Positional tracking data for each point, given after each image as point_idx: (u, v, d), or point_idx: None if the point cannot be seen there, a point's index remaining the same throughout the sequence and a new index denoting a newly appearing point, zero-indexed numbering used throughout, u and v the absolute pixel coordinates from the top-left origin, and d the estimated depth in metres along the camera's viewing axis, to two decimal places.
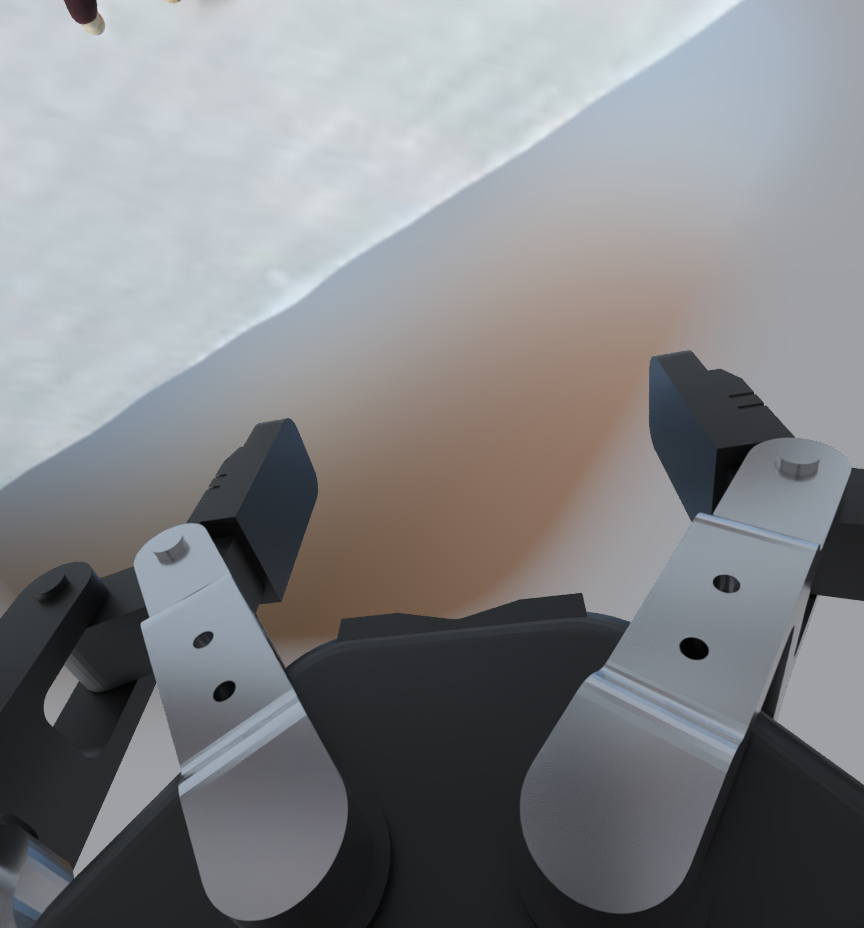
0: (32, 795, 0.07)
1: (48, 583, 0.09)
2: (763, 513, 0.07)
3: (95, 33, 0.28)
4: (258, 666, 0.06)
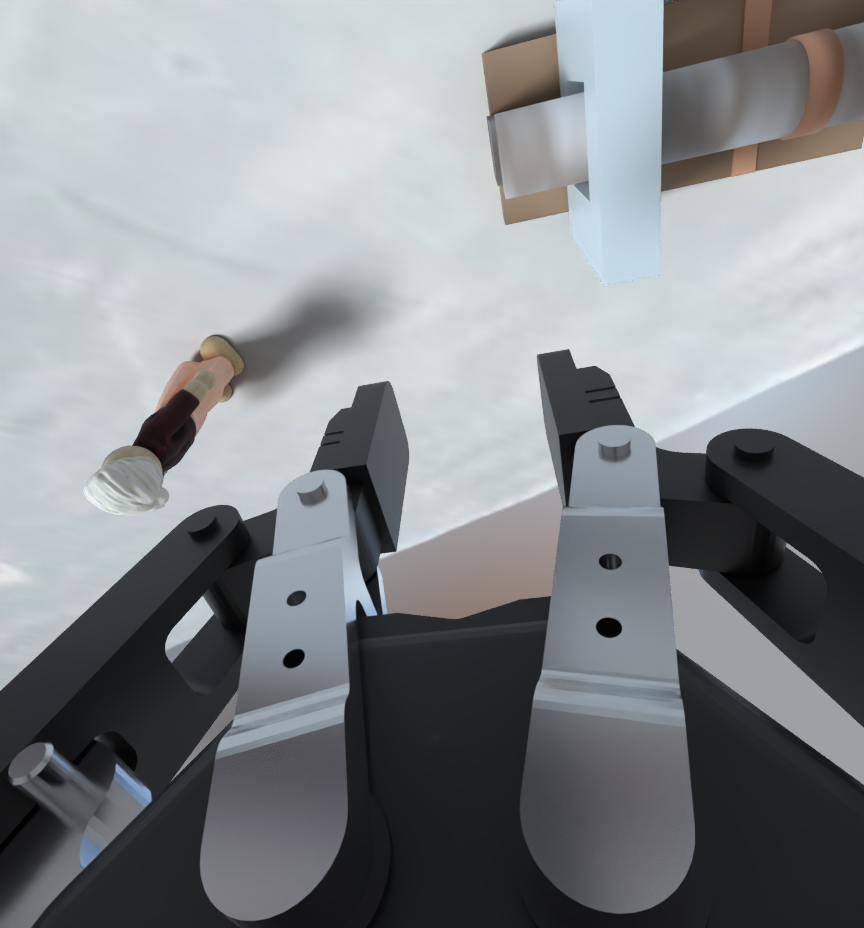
0: (139, 720, 0.08)
1: (200, 523, 0.09)
2: (606, 494, 0.08)
3: None
4: (329, 646, 0.06)
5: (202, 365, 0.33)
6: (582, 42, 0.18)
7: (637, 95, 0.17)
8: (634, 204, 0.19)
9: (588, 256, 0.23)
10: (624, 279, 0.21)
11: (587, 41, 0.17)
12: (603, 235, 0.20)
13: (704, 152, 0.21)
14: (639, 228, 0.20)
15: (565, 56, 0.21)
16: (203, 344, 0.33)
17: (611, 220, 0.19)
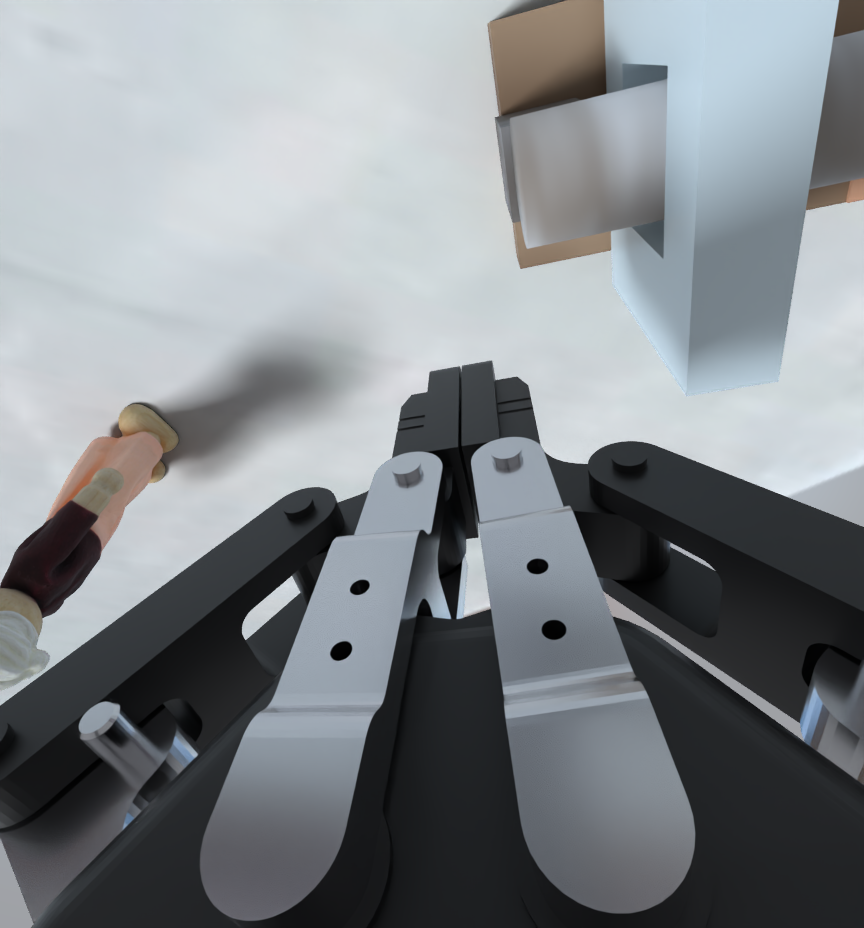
0: (208, 691, 0.08)
1: (297, 504, 0.09)
2: (512, 504, 0.08)
3: None
4: (377, 647, 0.06)
5: (119, 444, 0.25)
6: None
7: (779, 90, 0.10)
8: (750, 275, 0.11)
9: (651, 333, 0.15)
10: (720, 386, 0.13)
11: None
12: (693, 322, 0.12)
13: (847, 179, 0.13)
14: (754, 311, 0.12)
15: (622, 24, 0.14)
16: (121, 415, 0.25)
17: (708, 299, 0.12)
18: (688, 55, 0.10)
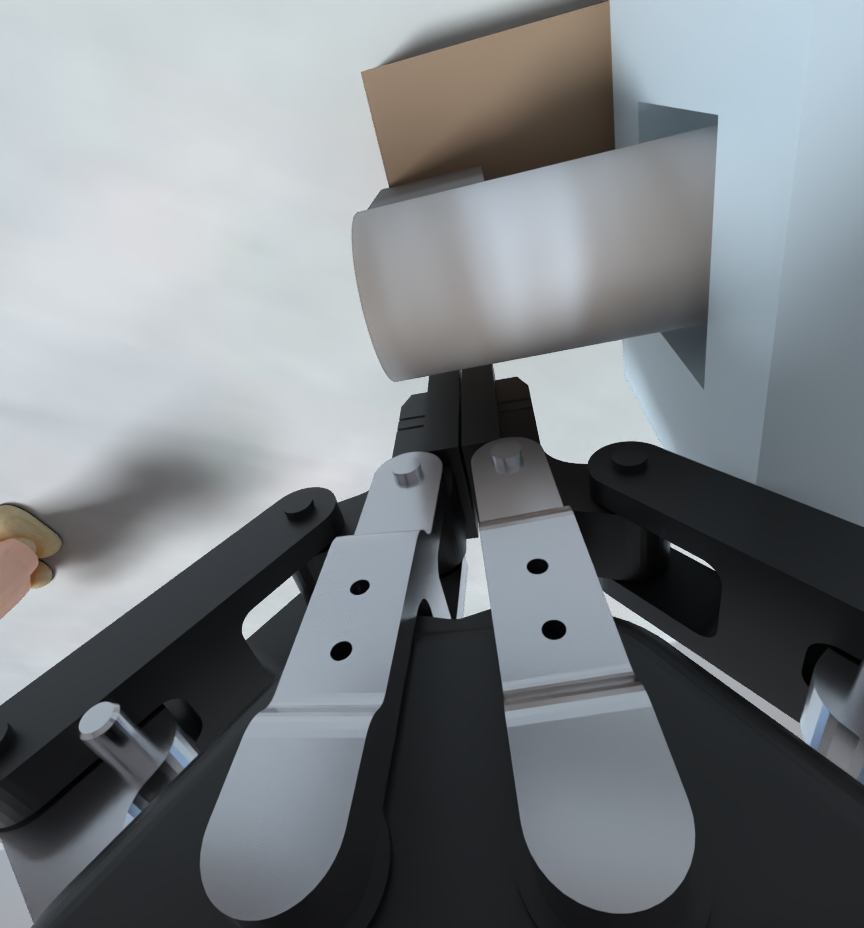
0: (208, 692, 0.08)
1: (297, 504, 0.09)
2: (512, 504, 0.08)
3: None
4: (377, 647, 0.06)
5: None
6: None
7: None
8: (856, 446, 0.07)
9: None
10: None
11: None
12: None
13: None
14: (856, 494, 0.07)
15: (638, 47, 0.09)
16: None
17: (784, 477, 0.07)
18: (763, 103, 0.06)
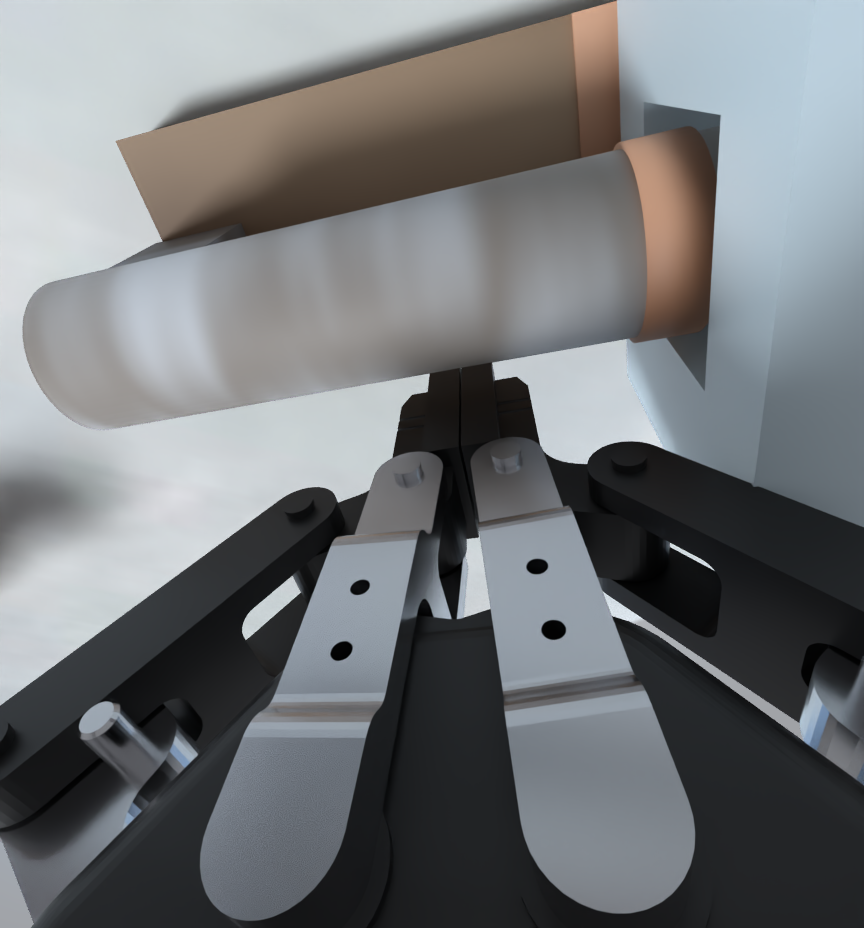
0: (209, 691, 0.08)
1: (298, 504, 0.09)
2: (512, 504, 0.08)
3: None
4: (377, 647, 0.06)
5: None
6: None
7: None
8: (855, 449, 0.07)
9: None
10: None
11: None
12: None
13: (462, 366, 0.10)
14: (855, 497, 0.07)
15: (644, 47, 0.09)
16: None
17: (783, 479, 0.07)
18: (764, 103, 0.06)
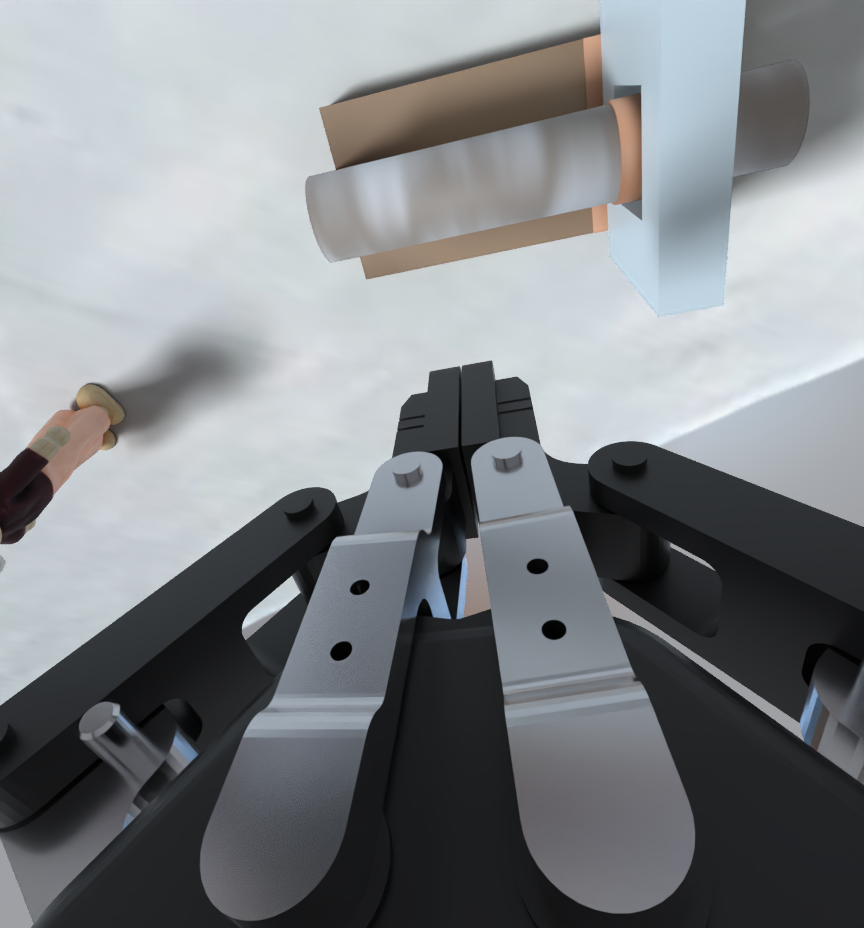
0: (208, 692, 0.08)
1: (297, 504, 0.09)
2: (512, 504, 0.08)
3: None
4: (377, 647, 0.06)
5: (75, 415, 0.32)
6: (642, 39, 0.16)
7: (709, 100, 0.15)
8: (698, 225, 0.17)
9: (635, 281, 0.20)
10: (682, 309, 0.18)
11: (650, 37, 0.15)
12: (660, 259, 0.17)
13: (528, 218, 0.20)
14: (703, 252, 0.17)
15: (613, 58, 0.19)
16: (78, 393, 0.32)
17: (671, 243, 0.17)
18: (652, 78, 0.15)
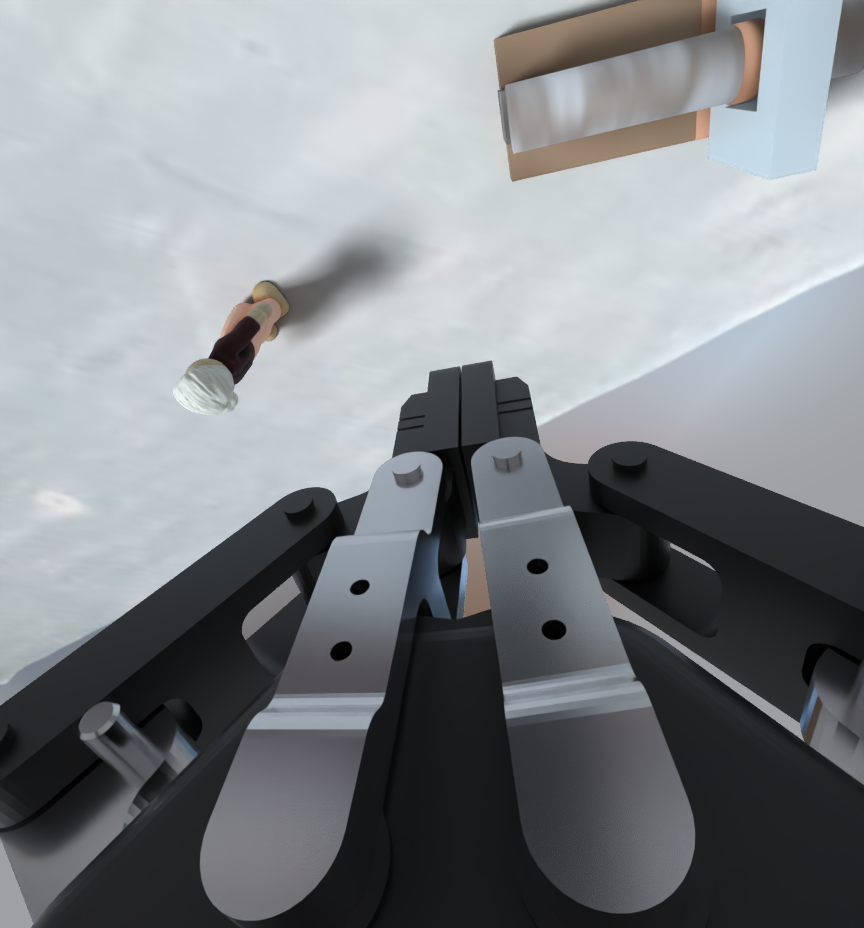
0: (208, 692, 0.08)
1: (297, 504, 0.09)
2: (512, 504, 0.08)
3: None
4: (377, 647, 0.06)
5: (255, 305, 0.39)
6: None
7: (821, 14, 0.22)
8: (804, 107, 0.24)
9: (743, 163, 0.28)
10: (786, 173, 0.25)
11: None
12: (775, 134, 0.25)
13: (668, 114, 0.27)
14: (805, 128, 0.24)
15: None
16: (255, 288, 0.39)
17: (783, 121, 0.24)
18: (780, 0, 0.23)
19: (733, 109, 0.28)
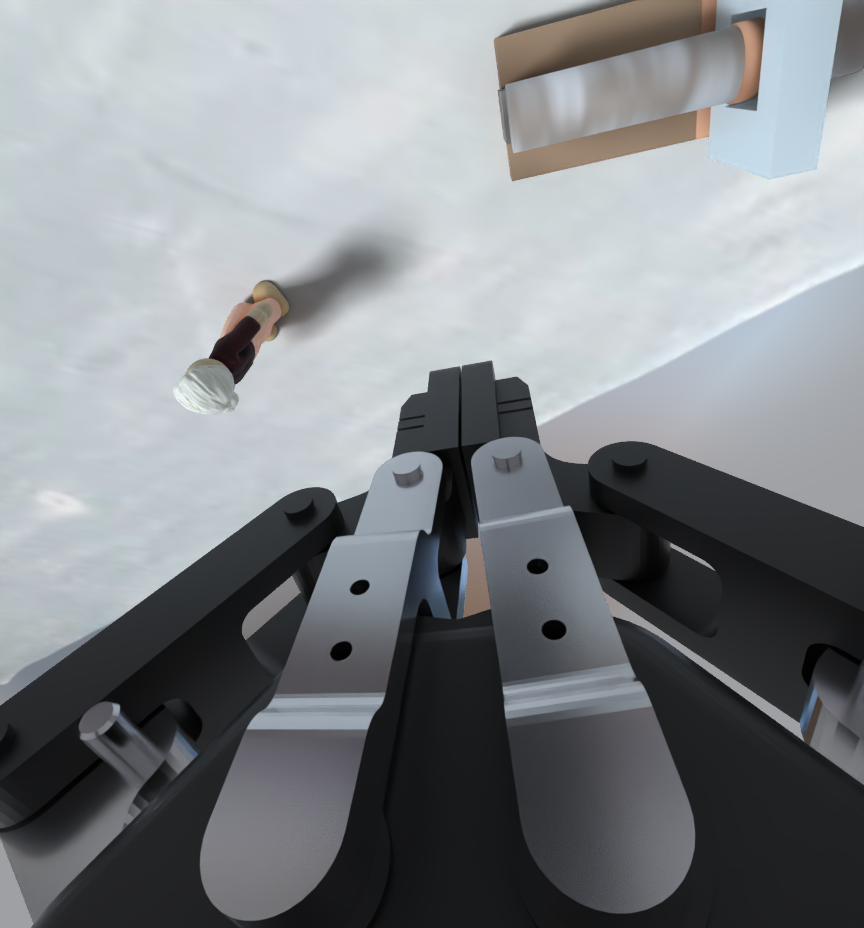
0: (208, 691, 0.08)
1: (297, 504, 0.09)
2: (512, 504, 0.08)
3: None
4: (377, 647, 0.06)
5: (255, 305, 0.39)
6: None
7: (821, 13, 0.22)
8: (805, 106, 0.24)
9: (743, 163, 0.28)
10: (787, 173, 0.25)
11: None
12: (775, 134, 0.25)
13: (668, 113, 0.27)
14: (805, 127, 0.24)
15: None
16: (256, 288, 0.39)
17: (784, 120, 0.24)
18: None
19: (733, 108, 0.28)
